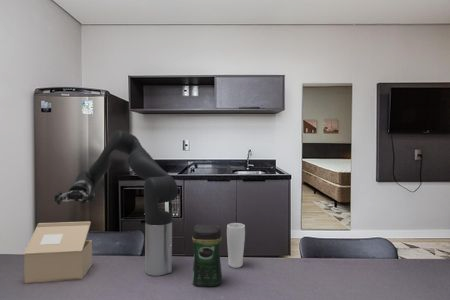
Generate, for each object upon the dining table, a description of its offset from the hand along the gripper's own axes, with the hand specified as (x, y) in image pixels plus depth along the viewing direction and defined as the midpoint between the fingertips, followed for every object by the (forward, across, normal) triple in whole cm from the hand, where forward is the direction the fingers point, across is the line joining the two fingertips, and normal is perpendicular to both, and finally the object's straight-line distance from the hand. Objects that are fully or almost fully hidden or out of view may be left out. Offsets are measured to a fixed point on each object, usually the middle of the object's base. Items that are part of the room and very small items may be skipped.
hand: (70, 202), depth 111 cm
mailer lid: (+16, 0, +7) cm, 17 cm away
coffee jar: (+35, +48, +17) cm, 62 cm away
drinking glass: (+25, +61, +18) cm, 68 cm away
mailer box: (+17, +1, +20) cm, 26 cm away
